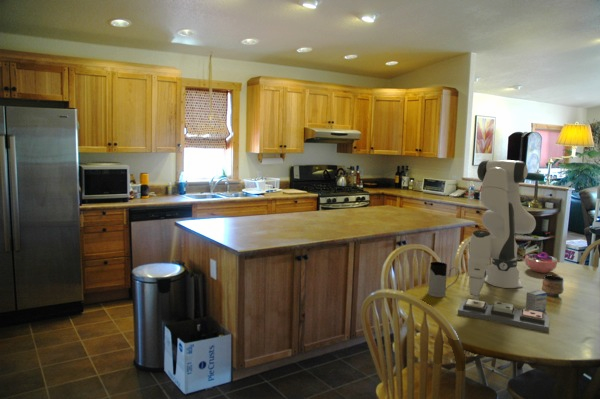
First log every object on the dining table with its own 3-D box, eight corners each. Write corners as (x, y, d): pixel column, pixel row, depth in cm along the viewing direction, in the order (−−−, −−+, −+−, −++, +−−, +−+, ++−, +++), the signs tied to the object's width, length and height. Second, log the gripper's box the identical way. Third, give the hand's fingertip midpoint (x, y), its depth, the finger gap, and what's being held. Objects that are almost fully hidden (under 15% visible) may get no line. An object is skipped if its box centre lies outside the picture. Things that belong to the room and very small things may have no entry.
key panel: (463, 304, 202) (463, 296, 202) (548, 320, 186) (549, 312, 186) (457, 314, 190) (458, 306, 190) (548, 332, 174) (549, 323, 174)
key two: (495, 305, 193) (495, 301, 192) (512, 309, 189) (513, 304, 189) (493, 310, 186) (493, 306, 186) (511, 314, 183) (512, 309, 183)
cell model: (518, 271, 259) (519, 252, 257) (531, 265, 272) (533, 247, 271) (549, 278, 246) (551, 258, 245) (561, 271, 260) (563, 253, 259)
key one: (468, 303, 198) (468, 298, 198) (485, 306, 195) (485, 301, 194) (465, 308, 192) (466, 303, 192) (482, 311, 188) (483, 306, 188)
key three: (523, 313, 187) (523, 308, 187) (541, 316, 184) (542, 311, 184) (522, 318, 181) (522, 313, 181) (541, 322, 178) (542, 317, 178)
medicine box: (534, 314, 193) (536, 295, 192) (524, 310, 197) (526, 291, 195) (545, 311, 196) (547, 292, 195) (536, 308, 200) (538, 289, 199)
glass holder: (425, 290, 221) (427, 261, 219) (455, 292, 219) (457, 262, 217) (429, 296, 212) (431, 265, 210) (459, 298, 210) (462, 267, 209)
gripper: (474, 261, 202) (472, 290, 204) (467, 273, 184) (465, 305, 186) (489, 263, 199) (487, 293, 201) (483, 275, 181) (481, 308, 183)
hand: (476, 299), depth 193 cm, fingers closed
